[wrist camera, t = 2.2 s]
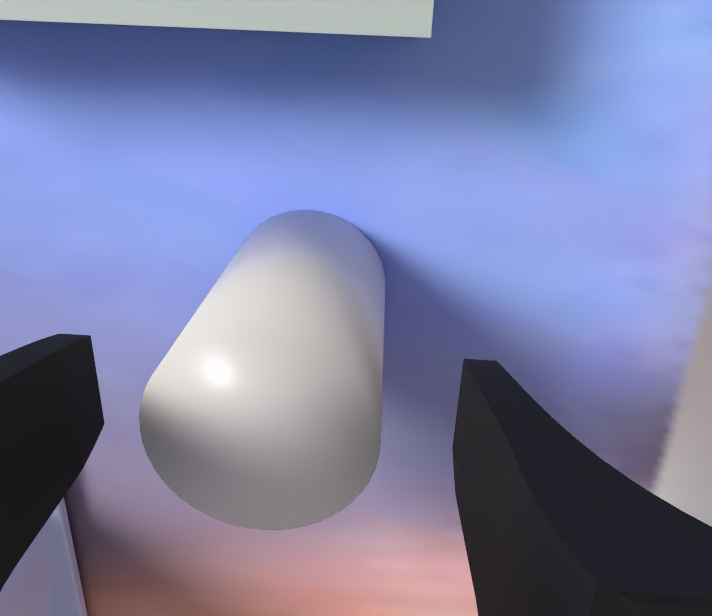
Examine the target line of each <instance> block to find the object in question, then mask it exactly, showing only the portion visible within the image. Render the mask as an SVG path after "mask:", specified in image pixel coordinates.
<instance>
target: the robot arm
mask: <svg viewBox="0 0 712 616" xmlns="http://www.w3.org/2000/svg"><path fill="white" fill-rule="evenodd" d="M103 426H104V418H103V412H102V405H101V399H100V393H99V386H98V380H97V374H96V367H95V361H94V355H93V348H92V342H91V336H88V335H72V334H57V335H54V336H50V337H47V338H44V339H41V340H38V341H36V342H33V343H31V344H28V345H25V346H23V347H21V348H18V349H16V350H13V351H11V352H8V353H6V354H4V355H1V356H0V616H87V611H86V606H85V601H84V596H83V591H82V586H81V581H80V576H79V571H78V566H77V561H76V556H75V551H74V546H73V541H72V536H71V531H70V526H69V521H68V516H67V511H66V506H65V501H64V496H65V494H66V493H67V491H68V490H69V488H70V487H71V485H72V484H73V482H74V481H75V479H76V478H77V476H78V475H79V473H80V472H81V470H82V469H83V467H84V465H85V463H86V461H87V459H88V457H89V455H90V453H91V451H92V449H93V448H94V445H95V443H96V441H97V439H98V437H99V434H100V432H101V430H102V428H103ZM453 463H454V479H455V493H456V499H457V504H458V509H459V515H460V520H461V525H462V530H463V535H464V540H465V546H466V551H467V556H468V561H469V566H470V571H471V576H472V581H473V586H474V591H475V596H476V603H477V609H478V616H712V527H711V526H709V525H707V524H705V523H703V522H701V521H700V520H698V519H696V518H694V517H692V516H690V515H688V514H686V513H685V512H683V511H681V510H679V509H678V508H676V507H674V506H673V505H671V504H669V503H667V502H666V501H664V500H662V499H661V498H659V497H657V496H656V495H654V494H652V493H651V492H649V491H647V490H646V489H644V488H643V487H641V486H640V485H638V484H636V483H635V482H633V481H632V480H630V479H629V478H627V477H626V476H625V475H623V474H622V473H620V472H619V471H618V470H616V469H615V468H613V467H612V466H611V465H609V464H608V463H606V462H605V461H603V460H602V459H601V458H599V457H598V456H597V455H596V454H594V453H593V452H592V451H590V450H589V449H588V448H587V447H585V446H584V445H583V444H582V443H581V442H579V441H578V440H577V439H576V438H575V437H574V436H572V435H571V434H570V433H569V432H568V431H566V430H565V429H564V428H563V427H562V426H561V425H560V424H559V423H558V422H556V421H555V420H554V419H553V418H552V417H551V416H550V415H549V414H548V413H547V412H546V411H545V410H544V409H543V408H542V407H541V406H540V405H539V404H538V403H537V402H536V401H535V400H534V399H533V398H532V397H531V396H530V395H529V394H528V393H527V392H526V391H525V390H524V389H523V388H522V387H521V386H520V385H519V384H518V383H517V382H516V381H515V380H514V379H513V378H512V377H511V376H510V374H509V373H508V372H507V371H506V370H505V369H504V368H503V367H502V366H501V365H500V364H499V363H498V362H497V361H489V360H473V359H464V361H463V369H462V377H461V385H460V393H459V401H458V409H457V417H456V425H455V433H454V441H453Z"/></svg>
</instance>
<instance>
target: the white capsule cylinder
mask: <svg viewBox="0 0 712 616" xmlns="http://www.w3.org/2000/svg"><path fill="white" fill-rule="evenodd" d="M384 318H385V274H384V269H383V265H382V262H381V259H380V257H379V255H378V253H377V251H376V249H375V248H374V246H373V244H372V243H371V242H370V241H369V239H368V238H367V237H366V236H365V235H364V234H363V233H362V232H361V231H360V230H359V229H358V228H356V227H355V226H354V225H352V224H351V223H349V222H347V221H346V220H344V219H342V218H340V217H337V216H335V215H332V214H329V213H325V212H321V211H314V210H297V211H290V212H286V213H282V214H279V215H277V216H274V217H272V218H270V219H268V220H266V221H265V222H263V223H261V224H260V225H259V226H258V227H257V228H255V229H254V230H253V231H252V232H251V233H250V234H249V236H248V237H247V238H246V240H245V241H244V242H243V244H242V245H241V247H240V248H239V250H238V251H237V253H236V254H235V256H234V257H233V258H232V260H231V261H230V263H229V264H228V266H227V267H226V269H225V270H224V272H223V273H222V274H221V276H220V277H219V279H218V280H217V282H216V283H215V285H214V286H213V288H212V289H211V290H210V292H209V293H208V295H207V296H206V298H205V299H204V301H203V302H202V304H201V305H200V306H199V308H198V309H197V311H196V312H195V314H194V315H193V317H192V318H191V320H190V321H189V322H188V324H187V325H186V327H185V328H184V330H183V331H182V333H181V334H180V336H179V337H178V338H177V340H176V341H175V343H174V344H173V346H172V347H171V349H170V350H169V352H168V353H167V354H166V356H165V357H164V359H163V360H162V362H161V363H160V365H159V366H158V368H157V369H156V370H155V372H154V373H153V375H152V376H151V378H150V380H149V382H148V384H147V386H146V388H145V390H144V393H143V397H142V401H141V405H140V415H139V421H140V432H141V437H142V442H143V445H144V448H145V451H146V453H147V456H148V458H149V460H150V462H151V463H152V465H153V467H154V469H155V470H156V472H157V473H158V474H159V476H160V477H161V479H162V480H163V481H164V482H165V483H166V484H167V485H168V487H169V488H170V489H171V490H172V491H173V492H175V493H176V494H177V495H178V496H179V497H180V498H181V499H183V500H184V501H186V502H187V503H188V504H190V505H191V506H193V507H194V508H196V509H198V510H199V511H201V512H203V513H205V514H207V515H209V516H211V517H213V518H216V519H218V520H221V521H224V522H227V523H230V524H233V525H237V526H242V527H246V528H253V529H261V530H282V529H292V528H298V527H303V526H307V525H310V524H313V523H317V522H319V521H322V520H324V519H326V518H329V517H331V516H332V515H334V514H336V513H338V512H339V511H341V510H342V509H344V508H345V507H346V506H348V505H349V504H350V503H351V502H353V501H354V500H355V498H356V497H357V496H358V495H359V494H360V493H361V492H362V491H363V489H364V488H365V487H366V485H367V484H368V482H369V481H370V479H371V477H372V475H373V473H374V471H375V468H376V465H377V461H378V458H379V452H380V445H381V413H382V381H383V350H384Z"/></svg>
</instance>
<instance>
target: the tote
mask: <svg viewBox="0 0 712 616" xmlns="http://www.w3.org/2000/svg"><path fill="white" fill-rule="evenodd" d="M433 6H434V0H0V20H22V21H46V22H70V23H93V24H117V25H141V26H164V27H188V28H212V29H235V30H259V31H283V32H306V33H330V34H354V35H377V36H401V37H425V38H431V31H432V18H433Z"/></svg>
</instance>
